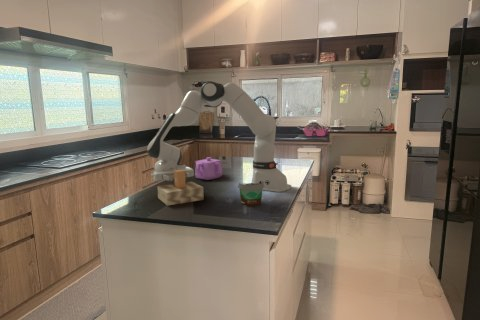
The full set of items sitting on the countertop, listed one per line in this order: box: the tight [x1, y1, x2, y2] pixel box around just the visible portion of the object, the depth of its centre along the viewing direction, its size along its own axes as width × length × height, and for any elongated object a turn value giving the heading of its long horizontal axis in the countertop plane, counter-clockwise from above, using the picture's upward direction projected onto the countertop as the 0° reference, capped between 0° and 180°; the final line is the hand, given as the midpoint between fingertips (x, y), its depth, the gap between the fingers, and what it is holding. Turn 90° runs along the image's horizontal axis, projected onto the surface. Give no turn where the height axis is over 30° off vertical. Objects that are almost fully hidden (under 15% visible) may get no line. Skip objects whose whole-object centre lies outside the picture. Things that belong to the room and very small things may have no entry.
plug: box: [174, 169, 186, 189], centre depth 161 cm, size 4×4×14 cm
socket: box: [157, 181, 205, 206], centre depth 162 cm, size 18×14×6 cm
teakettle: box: [194, 156, 223, 181], centre depth 208 cm, size 17×17×12 cm
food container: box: [237, 181, 264, 207], centre depth 152 cm, size 12×6×10 cm, turn 105°
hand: (178, 177), depth 162 cm, fingers open, 8 cm apart
